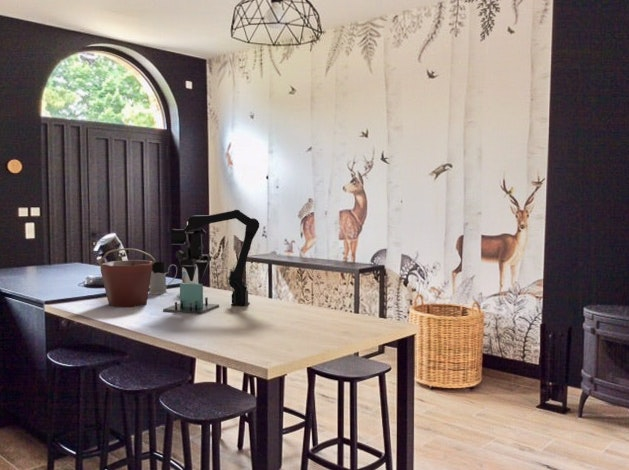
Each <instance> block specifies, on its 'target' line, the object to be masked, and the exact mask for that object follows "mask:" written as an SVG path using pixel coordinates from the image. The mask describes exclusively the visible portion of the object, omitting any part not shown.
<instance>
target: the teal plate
mask: <svg viewBox="0 0 629 470" xmlns="http://www.w3.org/2000/svg"><path fill="white" fill-rule="evenodd" d="M180 300H183V307H190V304H189V303H192V307H195V301H197V308H202V307H203V303H204V285H203V283H198V284H195V283H182V282H181V283H179V301H180ZM180 307H181V304H180Z"/></svg>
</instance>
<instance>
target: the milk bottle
mask: <svg viewBox="0 0 629 470" xmlns="http://www.w3.org/2000/svg"><path fill="white" fill-rule="evenodd" d="M181 269H182V270H181V273H182V275H181V277H182V278H181V283H195V284H199V268H198V266H197V267H196V271H195V275H194V279H193V281H190V279H189V276H188V273H187V271H186V269H185V268H184V267H182V268H181Z"/></svg>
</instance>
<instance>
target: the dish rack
mask: <svg viewBox="0 0 629 470" xmlns="http://www.w3.org/2000/svg"><path fill="white" fill-rule="evenodd" d="M204 302H205V303H204ZM204 302H203V307H202V308H197V301H195V307H192V303H189V304H190V307H183V300H180V299H179V303H178V301H175V302H174V305H171V306H168V307H165V308H163V309H162V312H164V313H167V312H168V313H178V312H180V313H179V314H181V312H182V314H193V313H195V315H202V313H203V314H205V313H207V312H210V311H213V310H214V308H215V309H217V308H219V307H220V304H217V303H208V302H209V301H208V297H207V296H206V297H204ZM180 304H181V307H180ZM196 313H197V314H196Z"/></svg>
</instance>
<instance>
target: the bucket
mask: <svg viewBox="0 0 629 470" xmlns="http://www.w3.org/2000/svg"><path fill="white" fill-rule="evenodd" d="M120 251H135V252H138V253H141V254H143V255H146V256H148V257H149V258H150V259H152V260H145V259H144V260H143V259H141V260H140V259H130V260H129V259H127V260H113V261H107V262H103V261H104V260H105V258H106V257H107V256H108V255H109V254H111V253H115V252H120ZM155 262H156V259H155V258H154V257H153V255H151V254H150V253H147V252H145V251H143V250H140V249H137V248H118V249H117V248H116V249H111V250H109V251H106V252H105V253H104V255H103V256H102V257H100V258H98V259H97V261H96V263H98V265H99V267H100V274H101V279H102V281H103V288H104V290H105V294H106V298H107V302H108V305H109V306H111V307H114V308H134V307H140V306H145V305H147V303H148V298H149V292H150V279H151V273H152V265H153V264H154V263H155Z"/></svg>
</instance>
